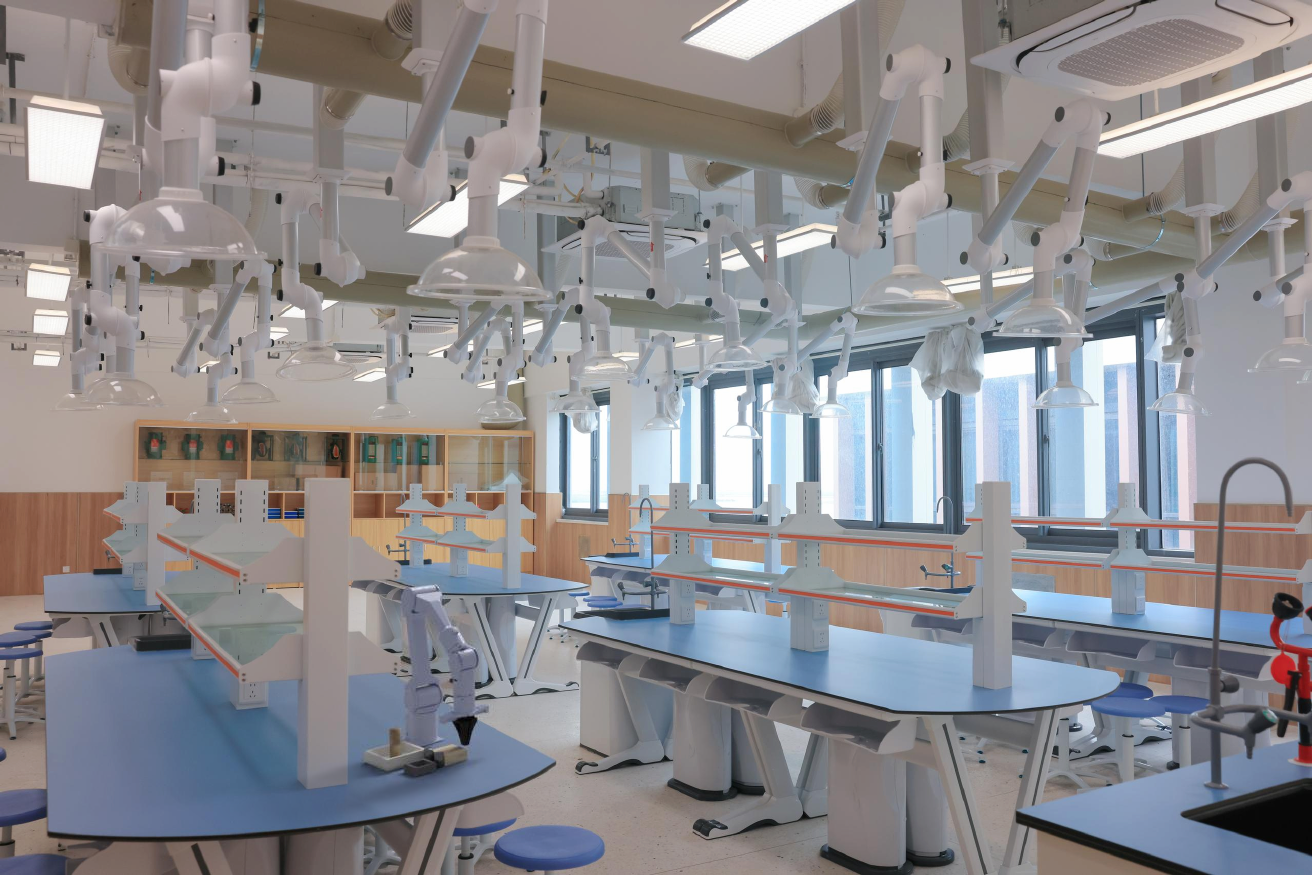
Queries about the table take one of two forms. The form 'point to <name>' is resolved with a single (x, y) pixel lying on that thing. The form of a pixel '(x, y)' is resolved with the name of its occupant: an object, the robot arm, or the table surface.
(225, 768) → the table surface
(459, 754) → the maple block
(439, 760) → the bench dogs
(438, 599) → the robot arm
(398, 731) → the dowel
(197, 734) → the table surface
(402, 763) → the tray
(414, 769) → the dowel collar
